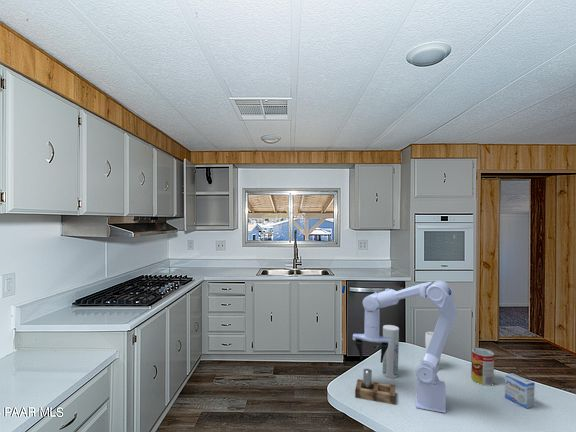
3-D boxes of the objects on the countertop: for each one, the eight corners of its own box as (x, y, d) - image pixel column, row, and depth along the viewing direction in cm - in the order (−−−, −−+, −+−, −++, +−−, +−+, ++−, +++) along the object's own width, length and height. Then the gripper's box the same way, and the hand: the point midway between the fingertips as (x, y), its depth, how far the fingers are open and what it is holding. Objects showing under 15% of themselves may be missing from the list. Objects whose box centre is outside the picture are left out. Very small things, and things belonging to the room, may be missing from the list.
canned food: (481, 375, 141) (481, 347, 141) (498, 384, 133) (498, 354, 133) (466, 377, 138) (467, 349, 138) (483, 387, 131) (483, 356, 131)
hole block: (395, 393, 125) (395, 385, 125) (395, 404, 118) (395, 396, 118) (357, 386, 130) (357, 379, 130) (355, 397, 122) (355, 389, 122)
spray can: (383, 369, 145) (383, 324, 145) (398, 372, 142) (399, 326, 142) (381, 376, 139) (382, 328, 139) (397, 379, 136) (398, 330, 136)
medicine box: (504, 397, 123) (504, 374, 123) (512, 395, 125) (512, 372, 125) (526, 409, 116) (527, 384, 116) (534, 406, 118) (535, 382, 118)
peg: (370, 392, 126) (371, 369, 126) (371, 396, 123) (372, 372, 123) (362, 391, 126) (363, 368, 126) (363, 396, 123) (363, 371, 123)
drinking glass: (427, 363, 152) (427, 330, 152) (443, 367, 148) (443, 333, 148) (422, 368, 147) (423, 334, 147) (439, 373, 142) (439, 338, 142)
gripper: (391, 324, 132) (390, 358, 132) (354, 320, 136) (353, 353, 136) (391, 330, 125) (390, 366, 125) (352, 325, 130) (351, 360, 129)
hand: (371, 360), depth 130 cm, fingers open, 7 cm apart
